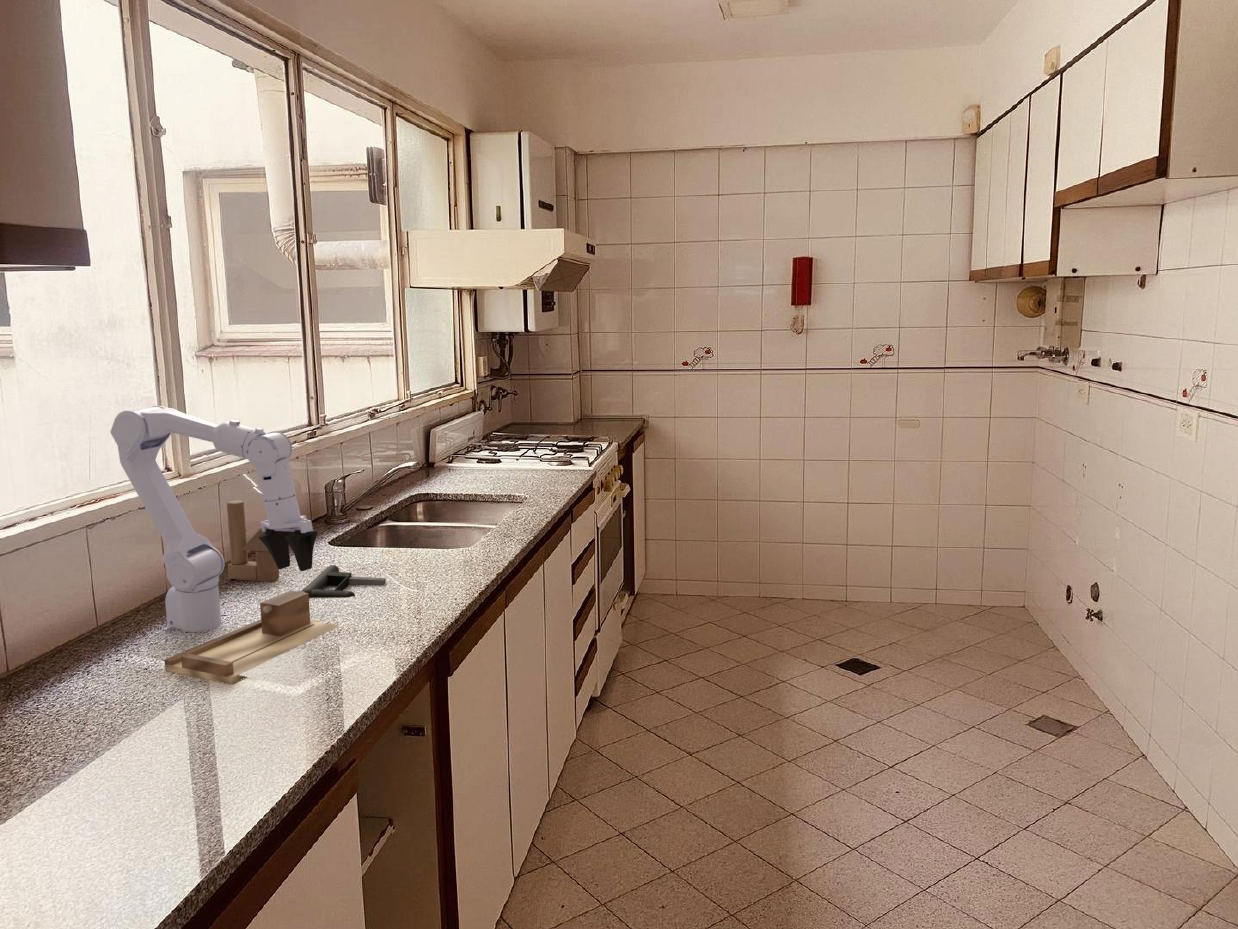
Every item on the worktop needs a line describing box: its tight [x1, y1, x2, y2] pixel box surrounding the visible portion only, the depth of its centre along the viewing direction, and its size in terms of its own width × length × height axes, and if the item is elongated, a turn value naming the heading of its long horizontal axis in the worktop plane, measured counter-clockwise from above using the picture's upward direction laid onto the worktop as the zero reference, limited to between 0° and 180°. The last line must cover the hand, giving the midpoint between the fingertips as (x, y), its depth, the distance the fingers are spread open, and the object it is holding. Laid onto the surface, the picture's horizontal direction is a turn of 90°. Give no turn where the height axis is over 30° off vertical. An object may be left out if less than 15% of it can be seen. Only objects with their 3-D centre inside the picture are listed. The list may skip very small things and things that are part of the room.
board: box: [164, 618, 340, 685], centre depth 166 cm, size 15×27×3 cm, turn 157°
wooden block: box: [226, 499, 280, 583], centre depth 208 cm, size 4×11×18 cm, turn 79°
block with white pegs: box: [259, 590, 311, 637], centre depth 173 cm, size 4×10×6 cm, turn 157°
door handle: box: [300, 564, 387, 599], centre depth 202 cm, size 3×20×16 cm
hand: (295, 568), depth 170 cm, fingers open, 7 cm apart
